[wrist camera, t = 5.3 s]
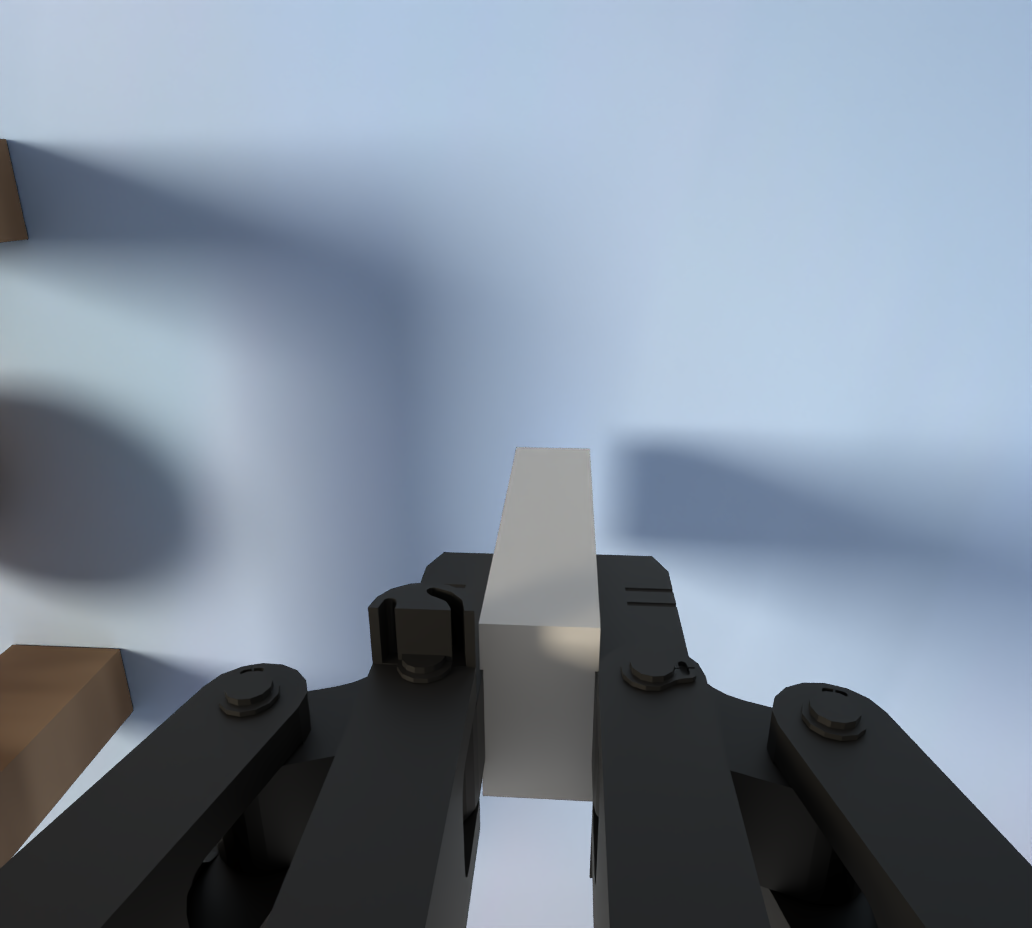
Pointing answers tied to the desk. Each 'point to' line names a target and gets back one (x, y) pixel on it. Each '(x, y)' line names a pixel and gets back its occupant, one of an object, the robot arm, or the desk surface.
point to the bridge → (48, 682)
